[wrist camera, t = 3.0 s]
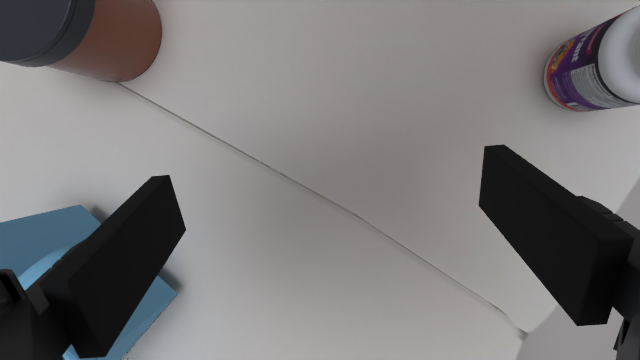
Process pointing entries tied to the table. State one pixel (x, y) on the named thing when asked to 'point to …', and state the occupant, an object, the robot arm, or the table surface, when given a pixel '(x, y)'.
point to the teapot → (50, 245)
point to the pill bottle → (598, 66)
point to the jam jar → (116, 41)
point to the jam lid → (42, 30)
